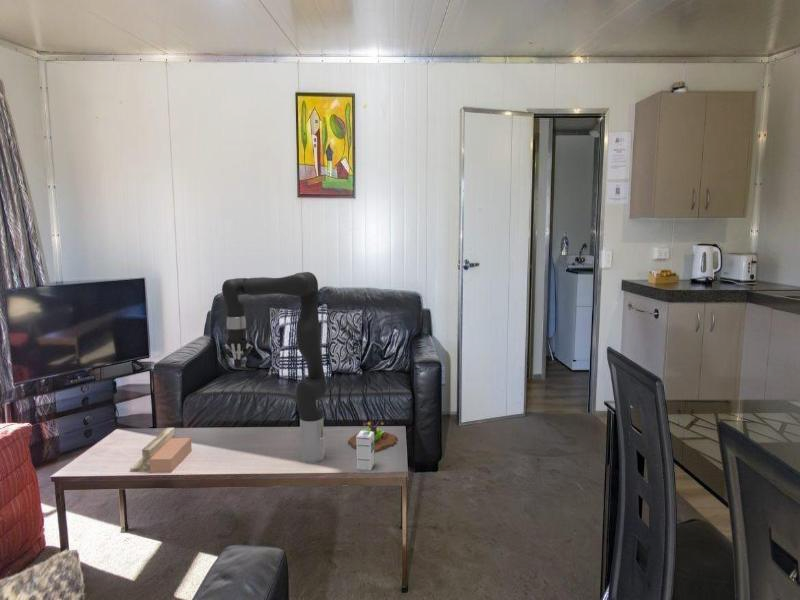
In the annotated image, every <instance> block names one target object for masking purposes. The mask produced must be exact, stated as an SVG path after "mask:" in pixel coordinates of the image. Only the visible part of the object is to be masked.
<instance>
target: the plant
mask: <svg viewBox="0 0 800 600" xmlns="http://www.w3.org/2000/svg"><path fill="white" fill-rule="evenodd" d="M378 424H380V425H381V426H383V425H384V422H383V421H381V420H379V421H377V422H376V423H375V425H374V422H373V420H369V421H368V422H364V423H363V426H365V427H366V426H368V429H366V428H363V429H362V431H373V432H374V448H375V454H376V453H378V452H381V451H384V450H386V449H388V448H391V447H393V448H394V445H397V442H398V436H397V435H396V434H393V433H390V432H387V431H385V430H380V428H379V427H378ZM358 433H359V432H357V433H356V434H354V435H352V436H351V437H350V438H349V439H348V441H347V445H348V446H350V447H351V448H352V449H354V450H356V451H357V445H356V436H357V435H358Z"/></svg>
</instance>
